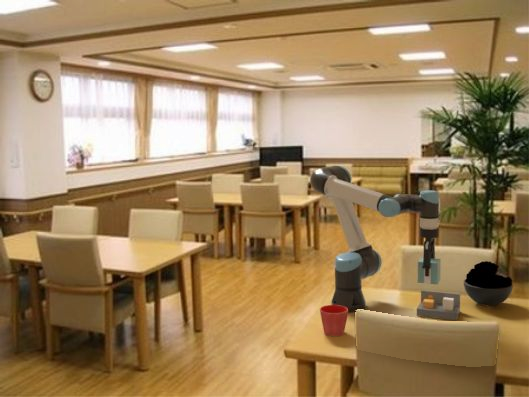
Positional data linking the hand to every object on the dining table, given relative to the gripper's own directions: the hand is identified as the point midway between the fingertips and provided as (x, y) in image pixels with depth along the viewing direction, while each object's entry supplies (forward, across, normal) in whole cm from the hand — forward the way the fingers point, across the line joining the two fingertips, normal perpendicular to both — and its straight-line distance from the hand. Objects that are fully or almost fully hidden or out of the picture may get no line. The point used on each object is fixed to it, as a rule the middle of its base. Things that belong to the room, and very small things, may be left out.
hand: (429, 280), depth 230 cm
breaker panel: (+14, 0, -4) cm, 15 cm away
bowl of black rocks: (+14, +20, -22) cm, 33 cm away
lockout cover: (0, 0, 0) cm, 0 cm away
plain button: (+12, 0, -8) cm, 14 cm away
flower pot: (+14, -36, +30) cm, 49 cm away
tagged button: (+14, 0, 0) cm, 14 cm away
